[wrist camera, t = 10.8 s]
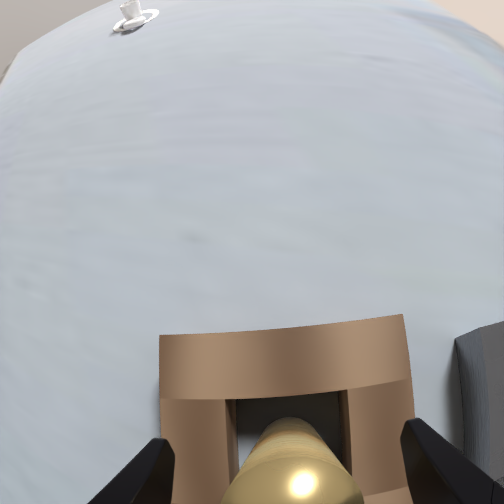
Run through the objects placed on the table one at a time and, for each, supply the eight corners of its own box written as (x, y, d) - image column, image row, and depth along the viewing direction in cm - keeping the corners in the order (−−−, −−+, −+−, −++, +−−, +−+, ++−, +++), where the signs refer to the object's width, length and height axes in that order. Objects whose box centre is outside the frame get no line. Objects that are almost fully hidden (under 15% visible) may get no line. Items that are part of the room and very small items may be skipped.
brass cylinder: (260, 472, 14) (223, 570, 4) (257, 418, 16) (214, 459, 6) (320, 467, 14) (362, 560, 4) (317, 414, 16) (363, 447, 6)
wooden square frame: (189, 531, 13) (172, 550, 10) (178, 344, 18) (159, 335, 15) (396, 516, 12) (413, 534, 9) (386, 326, 17) (402, 313, 14)
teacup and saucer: (144, 31, 37) (136, 10, 34) (103, 40, 39) (94, 21, 35) (167, 8, 41) (161, -11, 37) (128, 16, 42) (121, -1, 38)
